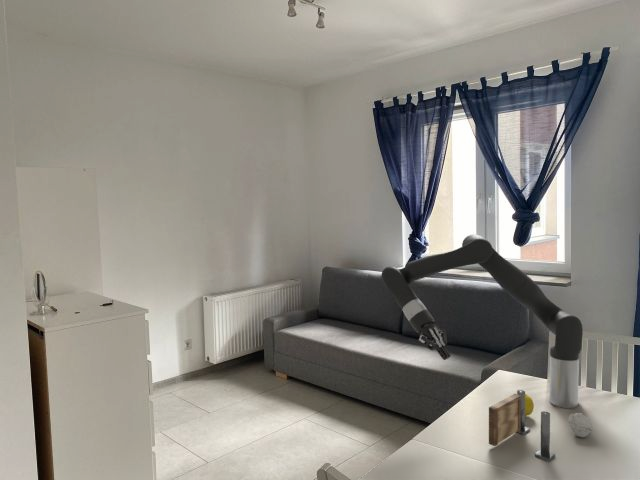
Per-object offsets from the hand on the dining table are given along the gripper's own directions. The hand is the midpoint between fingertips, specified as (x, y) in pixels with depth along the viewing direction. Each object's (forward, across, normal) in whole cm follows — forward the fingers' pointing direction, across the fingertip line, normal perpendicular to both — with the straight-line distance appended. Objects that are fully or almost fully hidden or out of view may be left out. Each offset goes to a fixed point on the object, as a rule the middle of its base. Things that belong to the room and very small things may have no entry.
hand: (447, 358), depth 157 cm
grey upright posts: (+33, +9, -1) cm, 34 cm away
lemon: (+26, +24, +6) cm, 36 cm away
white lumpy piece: (+39, +24, -6) cm, 46 cm away
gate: (+28, +5, +3) cm, 28 cm away
